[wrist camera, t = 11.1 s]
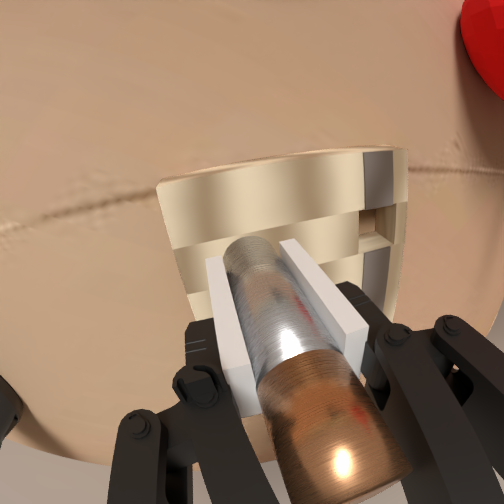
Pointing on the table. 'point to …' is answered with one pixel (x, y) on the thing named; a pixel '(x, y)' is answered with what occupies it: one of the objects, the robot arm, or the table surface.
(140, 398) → the table surface
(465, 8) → the vase
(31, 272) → the table surface
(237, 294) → the silver and copper cylinder
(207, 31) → the table surface
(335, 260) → the panel
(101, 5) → the table surface
